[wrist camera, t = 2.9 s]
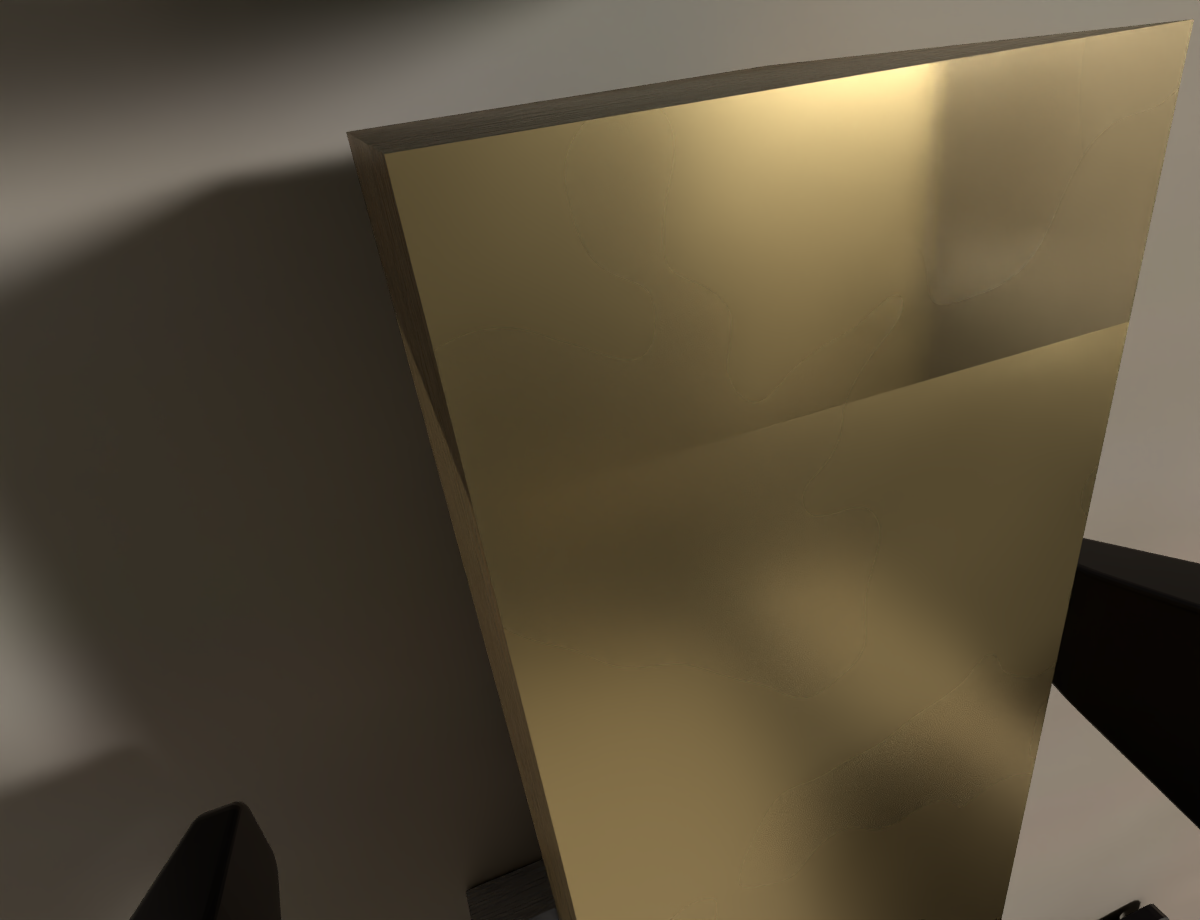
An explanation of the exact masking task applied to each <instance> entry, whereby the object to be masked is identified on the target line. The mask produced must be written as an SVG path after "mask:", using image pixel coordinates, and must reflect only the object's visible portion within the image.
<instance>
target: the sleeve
mask: <svg viewBox="0 0 1200 920" xmlns="http://www.w3.org/2000/svg"><path fill="white" fill-rule="evenodd" d="M466 894H467V899H468V904H469V909H470V915H471V920H560V919H559V916H558V912H557V908H556V905H555V901H554V897H553V894H552V890H551V886H550V883H549V879H548V875H547V872H546V868H545V864H544V860H543V859H542V860H540V861H537V862H535V863H532V864H530V865H528V866H525V867H523V868H520V869H518V870H516V871H513V872H511V873H508V874H506V875H504V876H501V877H499V878H496V879H494V880H492V881H489V882H487V883H484V884H482V885H480V886H477V887H475V888H472V889H470V890H467V891H466Z"/></svg>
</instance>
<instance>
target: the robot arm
mask: <svg viewBox="0 0 1200 920" xmlns="http://www.w3.org/2000/svg"><path fill="white" fill-rule="evenodd" d="M1052 684H1053V685H1054V686H1055V687H1056V688H1057V689H1058V691H1059V692H1060V693H1061V694H1062V695H1063V696H1064V697H1065V698H1066V699H1067V700H1068V701H1069V702H1070V703H1071V704H1072V705H1073V706H1074V707H1075V708H1076V709H1077V710H1078V711H1079V712H1080V713H1081V714H1082V715H1083V716H1084V717H1085V718H1086V719H1087V720H1088V721H1089V722H1090V723H1091V724H1092V725H1093V726H1094V727H1095V728H1096V729H1097V730H1098V731H1099V732H1100V733H1101V734H1102V735H1103V736H1104V737H1105V738H1106V739H1107V740H1108V741H1109V742H1110V743H1112V744H1113V745H1114V746H1115V747H1116V748H1117V749H1118V750H1119V751H1120V752H1121V753H1122V754H1123V755H1124V756H1125V757H1126V758H1127V759H1128V760H1129V761H1130V762H1131V763H1132V764H1133V765H1134V766H1135V767H1136V768H1137V769H1138V770H1139V771H1140V772H1141V773H1142V774H1143V775H1144V776H1145V777H1146V778H1148V779H1149V780H1150V781H1151V782H1152V783H1153V784H1154V785H1155V786H1156V787H1157V788H1158V789H1159V790H1160V791H1161V792H1162V793H1163V794H1164V795H1165V796H1166V797H1167V798H1168V799H1169V800H1170V801H1171V802H1172V803H1173V804H1174V805H1175V806H1176V807H1177V808H1178V809H1179V810H1180V811H1181V812H1182V813H1183V814H1185V815H1186V816H1187V817H1188V818H1189V819H1190V820H1191V821H1192V822H1193V823H1194V824H1195V825H1196V826H1197V827H1198V828H1199V829H1200V564H1199V563H1195V562H1190V561H1186V560H1181V559H1177V558H1172V557H1167V556H1163V555H1158V554H1154V553H1149V552H1145V551H1140V550H1136V549H1131V548H1127V547H1122V546H1118V545H1113V544H1108V543H1104V542H1099V541H1095V540H1090V539H1086V538H1083V540H1082V544H1081V549H1080V554H1079V558H1078V563H1077V568H1076V572H1075V577H1074V582H1073V586H1072V591H1071V596H1070V600H1069V605H1068V610H1067V614H1066V619H1065V624H1064V629H1063V633H1062V638H1061V643H1060V647H1059V652H1058V657H1057V661H1056V666H1055V671H1054V675H1053V680H1052ZM130 920H281V910H280V895H279V881H278V870H277V864H276V860H275V857H274V854H273V851H272V849H271V847H270V845H269V843H268V842H267V840H266V838H265V836H264V834H263V832H262V831H261V829H260V827H259V825H258V823H257V821H256V820H255V818H254V816H253V814H252V812H251V810H250V809H249V807H248V806H247V805H246V804H245V803H243V802H233V803H231V804H228V805H225V806H222V807H220V808H217V809H214V810H211V811H208V812H206V813H203V814H201V815H200V816H198V817H197V818H196V820H195V821H194V822H193V823H192V824H191V826H190V827H189V829H188V830H187V832H186V833H185V835H184V837H183V838H182V840H181V841H180V843H179V844H178V846H177V847H176V849H175V850H174V852H173V853H172V855H171V857H170V858H169V860H168V861H167V863H166V864H165V866H164V867H163V869H162V870H161V872H160V873H159V875H158V877H157V878H156V880H155V881H154V883H153V884H152V886H151V887H150V889H149V890H148V892H147V894H146V895H145V897H144V898H143V900H142V901H141V903H140V904H139V906H138V907H137V909H136V910H135V912H134V914H133V915H132V917H131V918H130ZM1121 920H1169V918H1168V917H1167V916H1166V915H1164V914H1163V913H1162V912H1161V911H1160V910H1159V909H1158V908H1157V907H1156V906H1155V905H1154V904H1149V905H1147V906H1144V907H1143V908H1141V909H1139V910H1137V911H1135V912H1133V913H1132V914H1130V915H1128V916H1126V917H1124V918H1122V919H1121Z"/></svg>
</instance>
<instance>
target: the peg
mask: <svg viewBox="0 0 1200 920" xmlns="http://www.w3.org/2000/svg"><path fill="white" fill-rule="evenodd" d="M1193 21H1194V19H1192V20H1183V21H1174V22H1164V23H1155V24H1146V25H1137V26H1128V27H1119V28H1109V29H1100V30H1091V31H1082V32H1073V33H1063V34H1054V35H1045V36H1036V37H1027V38H1017V39H1008V40H999V41H990V42H981V43H972V44H962V45H953V46H944V47H935V48H926V49H916V50H907V51H898V52H889V53H880V54H871V55H861V56H852V57H843V58H834V59H825V60H815V61H806V62H797V63H788V64H779V65H769V66H763V67H756V68H750V69H744V70H737V71H731V72H725V73H718V74H712V75H706V76H699V77H693V78H687V79H680V80H674V81H667V82H661V83H655V84H648V85H642V86H636V87H629V88H623V89H617V90H610V91H604V92H598V93H591V94H585V95H579V96H572V97H566V98H559V99H553V100H547V101H540V102H534V103H528V104H521V105H515V106H509V107H502V108H496V109H490V110H483V111H477V112H471V113H464V114H458V115H452V116H445V117H439V118H432V119H426V120H420V121H413V122H407V123H401V124H394V125H388V126H382V127H375V128H369V129H363V130H356V131H350V132H346V133H347V137H348V140H349V144H350V148H351V152H352V155H353V159H354V163H355V166H356V170H357V174H358V177H359V181H360V185H361V188H362V192H363V196H364V200H365V203H366V207H367V211H368V214H369V218H370V222H371V225H372V229H373V233H374V236H375V240H376V244H377V248H378V251H379V255H380V259H381V262H382V266H383V270H384V273H385V277H386V281H387V284H388V288H389V292H390V296H391V299H392V303H393V307H394V310H395V314H396V318H397V321H398V325H399V329H400V332H401V336H402V340H403V344H404V347H405V351H406V355H407V358H408V362H409V366H410V369H411V373H412V377H413V380H414V384H415V388H416V392H417V395H418V399H419V403H420V406H421V410H422V414H423V417H424V421H425V425H426V428H427V432H428V436H429V440H430V443H431V447H432V451H433V454H434V458H435V462H436V465H437V469H438V473H439V476H440V480H441V484H442V488H443V491H444V495H445V499H446V502H447V506H448V510H449V513H450V517H451V521H452V524H453V528H454V532H455V536H456V539H457V543H458V547H459V550H460V554H461V558H462V561H463V565H464V569H465V572H466V576H467V580H468V584H469V587H470V591H471V595H472V598H473V602H474V606H475V609H476V613H477V617H478V620H479V624H480V628H481V632H482V635H483V639H484V643H485V646H486V650H487V654H488V657H489V661H490V665H491V668H492V672H493V676H494V680H495V683H496V687H497V691H498V694H499V698H500V702H501V705H502V709H503V713H504V716H505V720H506V724H507V728H508V731H509V735H510V739H511V742H512V746H513V750H514V753H515V757H516V761H517V764H518V768H519V772H520V776H521V779H522V783H523V787H524V790H525V794H526V798H527V801H528V805H529V809H530V812H531V816H532V820H533V824H534V827H535V831H536V835H537V838H538V842H539V846H540V849H541V853H542V857H543V860H544V864H545V868H546V872H547V875H548V879H549V883H550V886H551V890H552V894H553V897H554V901H555V905H556V908H557V912H558V916H559V919H560V920H1001V918H1002V914H1003V909H1004V904H1005V900H1006V895H1007V890H1008V886H1009V881H1010V876H1011V872H1012V867H1013V862H1014V858H1015V853H1016V848H1017V844H1018V839H1019V834H1020V830H1021V825H1022V820H1023V816H1024V811H1025V806H1026V801H1027V797H1028V792H1029V787H1030V783H1031V778H1032V773H1033V769H1034V764H1035V759H1036V755H1037V750H1038V745H1039V741H1040V736H1041V731H1042V727H1043V722H1044V717H1045V713H1046V708H1047V703H1048V699H1049V694H1050V689H1051V685H1052V680H1053V675H1054V671H1055V666H1056V661H1057V657H1058V652H1059V647H1060V643H1061V638H1062V633H1063V629H1064V624H1065V619H1066V614H1067V610H1068V605H1069V600H1070V596H1071V591H1072V586H1073V582H1074V577H1075V572H1076V568H1077V563H1078V558H1079V554H1080V549H1081V544H1082V540H1083V535H1084V530H1085V526H1086V521H1087V516H1088V512H1089V507H1090V502H1091V498H1092V493H1093V488H1094V484H1095V479H1096V474H1097V470H1098V465H1099V460H1100V456H1101V451H1102V446H1103V442H1104V437H1105V432H1106V427H1107V423H1108V418H1109V413H1110V409H1111V404H1112V399H1113V395H1114V390H1115V385H1116V381H1117V376H1118V371H1119V367H1120V362H1121V357H1122V353H1123V348H1124V343H1125V339H1126V334H1127V329H1128V325H1129V320H1130V315H1131V311H1132V306H1133V301H1134V297H1135V292H1136V287H1137V283H1138V278H1139V273H1140V269H1141V264H1142V259H1143V255H1144V250H1145V245H1146V240H1147V236H1148V231H1149V226H1150V222H1151V217H1152V212H1153V208H1154V203H1155V198H1156V194H1157V189H1158V184H1159V180H1160V175H1161V170H1162V166H1163V161H1164V156H1165V152H1166V147H1167V142H1168V138H1169V133H1170V128H1171V124H1172V119H1173V114H1174V110H1175V105H1176V100H1177V96H1178V91H1179V86H1180V82H1181V77H1182V72H1183V67H1184V63H1185V58H1186V53H1187V49H1188V44H1189V39H1190V35H1191V30H1192V25H1193Z"/></svg>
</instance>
